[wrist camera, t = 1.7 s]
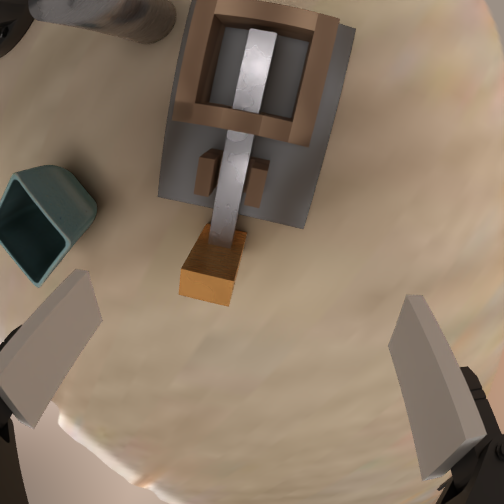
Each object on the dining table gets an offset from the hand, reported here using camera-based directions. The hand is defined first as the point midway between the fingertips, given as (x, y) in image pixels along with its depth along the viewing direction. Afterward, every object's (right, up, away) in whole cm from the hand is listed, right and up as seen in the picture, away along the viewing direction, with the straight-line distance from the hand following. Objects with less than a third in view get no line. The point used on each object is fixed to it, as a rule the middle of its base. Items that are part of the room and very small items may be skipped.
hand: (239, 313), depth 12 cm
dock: (0, +15, +13) cm, 20 cm away
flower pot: (-20, +8, +19) cm, 28 cm away
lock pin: (0, +11, +15) cm, 18 cm away
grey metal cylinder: (-9, +24, +9) cm, 27 cm away
